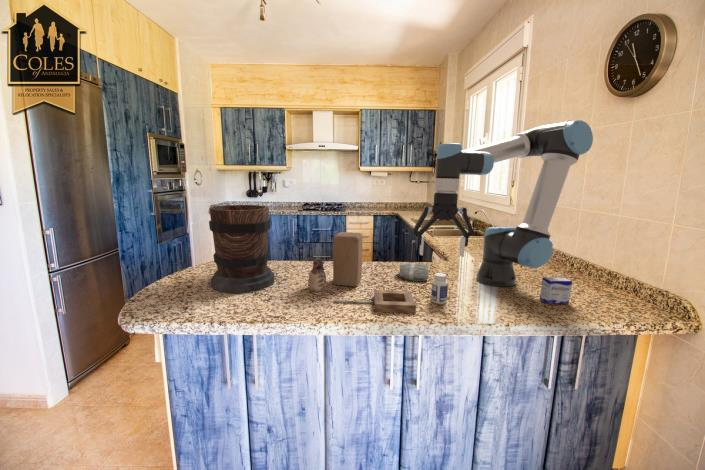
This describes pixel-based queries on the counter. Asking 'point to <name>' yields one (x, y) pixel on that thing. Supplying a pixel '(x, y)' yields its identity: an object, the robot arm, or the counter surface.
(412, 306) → the brown square frame
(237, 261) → the wooden barrel
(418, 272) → the decorative stone
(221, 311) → the counter surface
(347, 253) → the wooden block
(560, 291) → the box
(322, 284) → the figurine
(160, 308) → the counter surface
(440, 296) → the pill bottle
